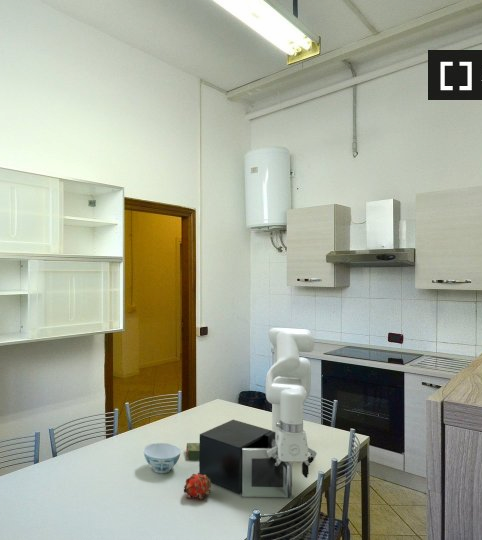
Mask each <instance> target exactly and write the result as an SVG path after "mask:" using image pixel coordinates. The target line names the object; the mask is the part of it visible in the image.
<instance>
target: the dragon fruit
mask: <svg viewBox="0 0 482 540" xmlns="http://www.w3.org/2000/svg"><path fill="white" fill-rule="evenodd" d="M211 484H212V483H211V482H210V478H208V477H207V475H202V474H200V473H199V472H197V474H195V473H193V474H192V475H190V476H189V477H188V478H186V480H185V484H184V487H183V493H184V494H187V495H186V497H187V499H188V498H189V499H194V498H198V499H199V500H202V499H204V497H205V496H206V495H210V493H211V491H212V489H211V488H212V485H211Z"/></svg>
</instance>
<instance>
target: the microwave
mask: <svg viewBox="0 0 482 540" xmlns="http://www.w3.org/2000/svg"><path fill="white" fill-rule="evenodd" d="M199 443H200V447H199V460H198V461H199V462H198V464H199V465H198V473H200V474H202V475H207V477H208V478H210V482H211V483H210V484H212V485H213V484H214V485H216V486H218V487H220V488H222V489H225V490H227V491H229V492H231V493H234V494H237V495H239V496H240V495H242V448H273V447H275V444H276V441H275V432H273V431H272V429H269V428H264V427H261V426H258V425H253V424H250V423H247V422H243V421H239V420H236V419H231V420H228V421H227V422H224V423H222V424H220V425H217V426H215V427H213V428H211V429H209V430H205V431H203V432H202V433H199Z"/></svg>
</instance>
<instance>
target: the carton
mask: <svg viewBox="0 0 482 540" xmlns="http://www.w3.org/2000/svg"><path fill="white" fill-rule="evenodd" d="M199 447H200V442H186V449H185V450H186V451H185V452H186V456H187V459H188V460H190V461H191V460H193V461H194V460H195V461H196V460H197V461H199Z"/></svg>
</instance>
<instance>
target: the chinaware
mask: <svg viewBox="0 0 482 540" xmlns="http://www.w3.org/2000/svg"><path fill="white" fill-rule="evenodd" d="M181 452H182V451H181V449H180V448H179V447H178V446H177V445H175V444H171V443H166V442H155V443H150V444H148V445H146V446H144V448H143V456H144V459H145V462H147V464H148V465H149V466H150V467H151V468H152V469H153V471H154V472H156V473H158V474H166V473H169V472H170V471H171V469H172V468H174V467H175V466H176V465H177V463H178V461H179V459H180V456H181Z"/></svg>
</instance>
